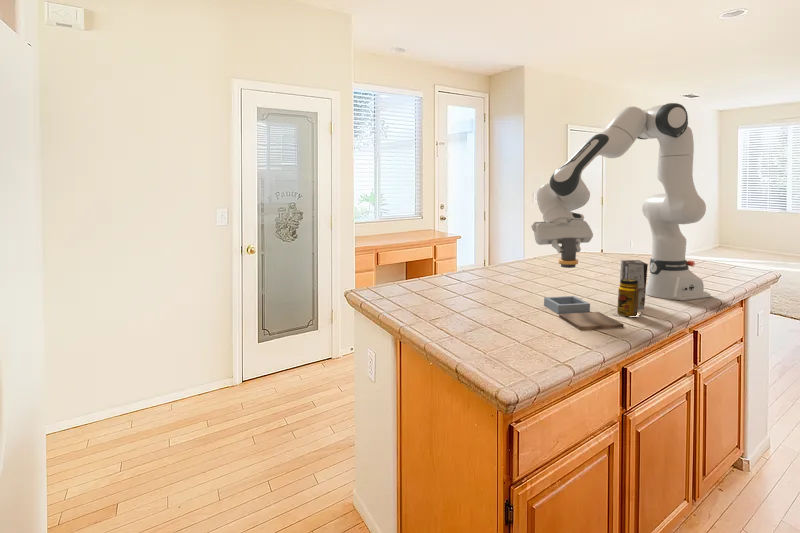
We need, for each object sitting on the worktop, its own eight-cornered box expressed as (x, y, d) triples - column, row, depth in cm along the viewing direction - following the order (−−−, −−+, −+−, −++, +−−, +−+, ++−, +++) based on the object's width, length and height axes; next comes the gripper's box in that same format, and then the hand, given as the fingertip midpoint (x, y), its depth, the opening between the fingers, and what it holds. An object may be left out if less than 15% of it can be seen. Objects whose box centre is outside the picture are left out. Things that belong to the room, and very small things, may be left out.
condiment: (613, 315, 149) (615, 280, 146) (619, 309, 155) (622, 276, 153) (637, 318, 144) (639, 283, 142) (643, 312, 150) (645, 278, 148)
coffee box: (645, 309, 154) (648, 264, 151) (625, 309, 155) (628, 263, 152) (636, 302, 163) (639, 259, 160) (618, 302, 164) (620, 259, 161)
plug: (572, 264, 158) (573, 236, 157) (581, 267, 152) (582, 238, 150) (555, 265, 158) (556, 237, 156) (563, 268, 151) (564, 239, 150)
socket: (573, 303, 164) (573, 295, 163) (589, 312, 153) (590, 303, 152) (543, 305, 163) (544, 297, 162) (558, 314, 151) (558, 305, 151)
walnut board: (598, 314, 149) (598, 311, 149) (623, 327, 136) (623, 324, 136) (558, 316, 148) (559, 314, 148) (580, 330, 134) (580, 326, 134)
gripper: (532, 216, 157) (543, 247, 150) (587, 214, 160) (600, 244, 152) (527, 228, 163) (538, 258, 155) (580, 225, 165) (593, 255, 157)
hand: (569, 251), depth 153 cm, fingers closed on plug, 5 cm apart
